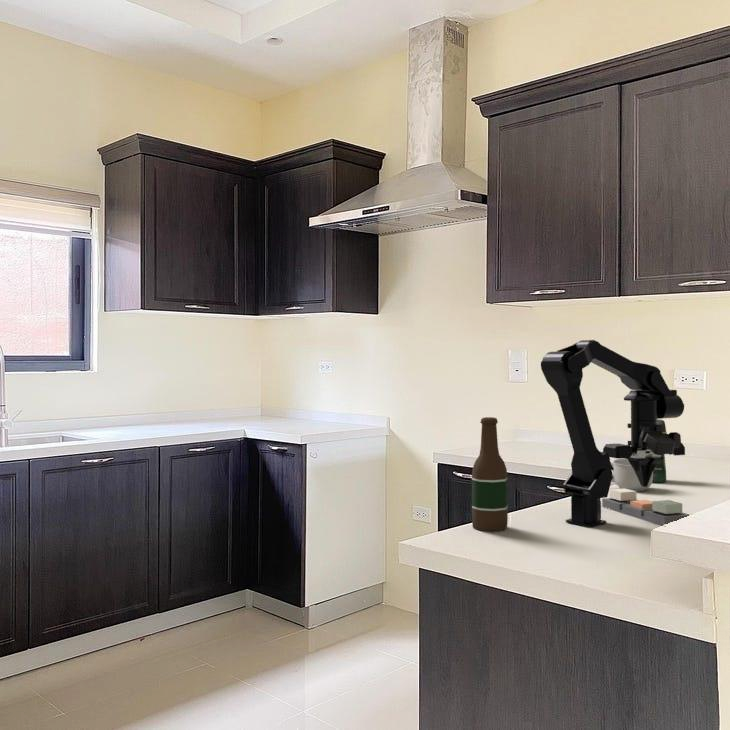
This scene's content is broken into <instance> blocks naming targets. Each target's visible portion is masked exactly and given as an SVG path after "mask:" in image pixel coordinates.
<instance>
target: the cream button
mask: <svg viewBox="0 0 730 730" xmlns="http://www.w3.org/2000/svg"><path fill="white" fill-rule="evenodd" d="M637 495H638V494H637V491H633V490H629V489H621V488H613V489H610V488H609V498H613V499H616V500H620V501H626V500H638V498H637Z"/></svg>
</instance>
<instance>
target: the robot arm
mask: <svg viewBox="0 0 730 730" xmlns="http://www.w3.org/2000/svg"><path fill="white" fill-rule="evenodd" d="M591 363H592V364H594V365H596V366H597V367H599V368H602V369H603V370H605V371H607V372H608V373H609V372H610V373H612V374H613V375H615V376H617V377H618V378H619V379H620V381H621V383H622V384H624V386H625V387H627V388H628V389H629V390H630V391H629V392H628V393H627V394H626V395H624V397H623V401H629V402H630V423H627V429H630V440H627V444H623V443H605V445H604V446H603V448H602V451H600V450H599V449H598V448H597V445H596V442H595V437H594V435H593V430H592V427H591V423H590V420H589V417H588V413H587V410H586V405H585V402H584V398H583V395H582V392H581V383H582V381H583V377H584V373H583V369H584V368H586V367H589V365H590V364H591ZM540 369H541V371H542V375H543V377H544V378H545V381H546V383H548V385H549V386H550V387H551V388H552V389H553V390H554V391H555V393H556V394H557V395H556V396H557V399H558V400H559V405H560V408H561V412H562V415H563V418H564V422H565V424H566V428H567V432H568V437H569V440H570V442H571V446H572V450H573V456H572V459H571V462H570V466H571V473H570V474H569V476H568V477H567V479H566V480H564V483H563V484H562V487H563V491H564V494H567V495H568V494H569V495H571V496H570V499H571V500H570V504H571V505H570V507H571V508H570V509H571V510H570V511H571V515H570V516H571V517H570V518H567V519H565V523H568V524H569V523H570V524H573V525H578V526H584V527H588V528H590V527H595V526H599V525H604V524H607V520H604V519H602V500H601V499H605V498H608V495H609V493H610V488H611V484H612V479H613V471H612V470H614V468H613V467H612V465H611V458H614V459H628V461H629V462H630V464H631V466H632V467H633V469H634V471H635V473H636V475H637V477H638V480H639V482H640V484H641V486H642V487H647V486H648V483H649V480H650V478H651V475H652V472H653V470H654V468H655V466H656V464H657V463H658V462H659V461H661V460H664V457H661V455H663V454H665V455H673V456H685V455H686V447H685V446H684V443H682V438H681V437H682V436H681V434H680V432H676V431H673V432H672V431H671V432H669V433H667V434H664V433H662V427H661V425H659V424H657V419H659V420H664V419H676V418H679V417H681V416H682V415H683V414H684V410H685V404H684V401H683V399H682V398H681V396H680V395H678V392H677V391H678V390H677V389H670V388H669V387H668V384H667V383H666V380H665V379H664V377H663V376H662V374H661V370H660V368H659V367H657V366H654V365H651V364H647V363H641V362H637V361H632V360H630V359H629V358H627V357H625V356H623V355H621V354H619V353H617V352H616V351H614V350H612V349H609V348H608V347H606V346H604V345H602V344H601V343H600V342H599V341H597V340H595V339H589V340H587V339H585V340H582V339H581V340H579V341H578V342H575V343H574V344H572V345H569V346H567V347H564V348H561V349H558V350H556V351H549V352H546V353H545V354H544V356H543V357H542V360H541V362H540Z"/></svg>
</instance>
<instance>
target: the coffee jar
mask: <svg viewBox="0 0 730 730" xmlns="http://www.w3.org/2000/svg"><path fill="white" fill-rule="evenodd" d="M657 424H659V425H661V427H662V433H664V434H668V433H667V427H666V422H665V420H664V419H657ZM665 456H666V454H663V455H661V457H664V460H661V461H659V462H658V463H657V464H656V466H655V468H654V470H653V481H652V483H655V484H656V483H657V484H659V483H665V482H666V481H667V466H666V458H665Z"/></svg>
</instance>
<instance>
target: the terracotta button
mask: <svg viewBox="0 0 730 730" xmlns="http://www.w3.org/2000/svg"><path fill="white" fill-rule="evenodd" d="M652 501H653V500H648V499H637V500H636V501H630V506H633V507H636V508H640V509H650V508H652Z"/></svg>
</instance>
